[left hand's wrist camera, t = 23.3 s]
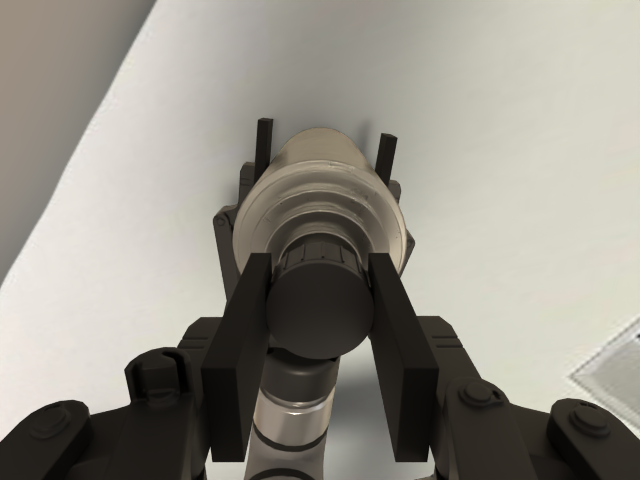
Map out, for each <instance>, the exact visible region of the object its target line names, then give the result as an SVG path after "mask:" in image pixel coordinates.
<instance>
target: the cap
mask: <svg viewBox="0 0 640 480" xmlns="http://www.w3.org/2000/svg"><path fill="white" fill-rule="evenodd" d="M371 289H372V286H371V282H370V279H369V275H368V271H367V270H365V269H364V267H363V265H362V264H361V262H360V261H359V259H358V257H357V256H354V255H353V254H352V253H350V252H349V251H347V250H346V249H344V248H343V246H340V247H339V246H337V245H333V244H328V243H324V242H322V243H312V244H307V245H305V244H303V245H302V246H301V247H298V248H296V249H294V250H292V251H291V252H289V253H288V252H287V253H286V256H284V257H283V258H282V260H281V261H280V262H279V263H278V265H277V266H276V265H275V267H274V270H273V274H272V278H271V282H270V287H269V291H268V295H267V298H266V322H267V326H268V328H269V330H270V332H271V334H272V335H273V337H274V338H275V340H276V341H277V342H278V343H279V344H280V345H282V346H283V347H284V348H285V349H287V350H288V351H290V352H292V353H294V354H296V355H299V356H302V357H306V358H311V359H329V358H334V357H338V356H341V355H344V354H346V353H348V352H350V351H351V350H353V349H354V348H356V347H357V346H358V345H359V344H360V343H361V342H362V341H363V340H364V339H365V338H366V337H367V335H368V334H369V332H370V330H371V328H372V325H373V318H374V299H373V295H372V292H371Z"/></svg>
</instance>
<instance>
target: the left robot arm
mask: <svg viewBox="0 0 640 480" xmlns="http://www.w3.org/2000/svg"><path fill="white" fill-rule="evenodd" d="M368 275H369V279H370V282H371V286H372V289H371V292H372V295H373V299H374V318H373V325H372V328H371V330H370V332H369V336H370V341H371V345H372V350H373V355H374V360H375V365H376V370H377V374H378V379H379V384H380V389H381V394H382V399H383V404H384V408H385V413H386V418H387V423H388V428H389V433H390V437H391V442H392V447H393V452H394V457H395V462H427V460H428V453H429V445H430V448H431V451H432V454H433V458H434V461H435V469H434V476H433V480H640V440H639V439H638V438H637V437H636V436H635V435H634V434H633V433H632V432H631V431H630V430H629V429H628V428H627V427H626V426H625V425H624V424H623V423H622V422H621V421H620V420H619V419H618V418H616V417H615V416H614V415H613V414H611V413H610V412H609V411H607V410H605V409H603V408H601V407H600V406H598V405H596V404H593V403H590V402H587V401H584V400H581V399H571V398H566V399H561V400H557V401H556V402H555V403H554V404H553V405H552V408H551V411H550V413H545V412H541V411H537V410H532V409H528V408H524V407H520V406H517V405H514V404H512V403H510V402H509V400H508V398H507V397H506V395H505V394H504V392H503V391H501V390H500V389H499V388H498V387H497V386H495V385H494V384H492V383H490V382H488V381H486V380H483V379H482V378H481V377H480V375H479V373H478V371H477V370H476V368H475V366H474V364H473V363H472V361H471V359H470V357H469V356H468V354H467V352H466V350H465V349H464V348H463V345H462V343H461V342H460V340H459V339H458V338H457V337H458V336H457V335H456V333H455V331H454V329H453V328H452V326H451V325H450V324H449V323H447V322H446V321H445V320H444V319H442V318H441V317H440V316H416V314H415V311H414V309H413V307H412V305H411V302H410V300H409V298H408V295H407V293H406V291H405V289H404V286H403V284H402V282H401V280H400V277H399V275H398V273H397V270H396V268H395V266H394V264H393V261H392V259H391V257H390V255H389V253H368ZM271 278H272V257H271V253H251V254H250V256H249V258H248V261H247V263H246V265H245V268H244V270H243V272H242V274H241V277H240V279H239V281H238V284H237V286H236V288H235V290H234V293H233V295H232V297H231V299H230V302H229V304H228V306H227V309H226V311H225V313H224V315H223V317H200V318H199V319H198V320H197V321H195V322H194V323H193V324H191V325H190V326H189V327H188V329H187V330H186V332H185V334H184V336H183V338H182V340H181V341H180V343H179V345H178V346H177V348H176V347H162V348H158V349H153V350H150V351H147V352H145V353H143V354H140V355H139V356H137V357H136V358H135V359H133V360H132V361H130V363H129V364H128V365H127V367H126V368H125V369H124V371H125V376H126V380H127V385H128V390H129V395H130V399H131V403H130V405H127V406H125V407H121V408H118V409H114V410H110V411H106V412H101V413H97V414H93V415H90V413H89V409H88V407H87V406H86V405H85V404H84V403H83V402H80V401H76V400H66V401H58V402H55V403H52V404H49V405H46V406H44V407H42V408H40V409H38V410H36V411H34V412H33V413H31V414H30V415H28V416H27V417H26V418H25V419H23V420H22V421H21V422H20V423H19V424H18V425H17V426H16V427H15V428H14V429H13V430H12V431H11V432H10V433H9V434H8V435H7V436H6V437H5V438H4V439H3V440H2V441H1V442H0V480H207V476H206V469H205V462H206V459H207V455H208V452H209V449H210V447H211V455H212V462H244V460H245V456H246V451H247V446H248V441H249V436H250V431H251V427H252V422H253V417H254V412H255V407H256V402H257V397H258V393H259V388H260V383H261V378H262V373H263V368H264V364H265V359H266V354H267V349H268V344H269V339H270V335H271V332H270V330H269V328H268V326H267V322H266V298H267V295H268V291H269V287H270V282H271Z"/></svg>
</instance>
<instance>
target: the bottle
mask: <svg viewBox="0 0 640 480" xmlns="http://www.w3.org/2000/svg"><path fill="white" fill-rule="evenodd" d="M322 242H324V243H328V244H333V245H337V246H339V247H340V246H343V248H344V249H346V250H347V251H349V252H350V253H352V254H353V255H354V256H357V257H358V259H359V261H360V262H361V264H362V265H363V267H364V269H365V270H367V271H368V253H389V255H390V257H391V259H392V261H393V264H394V266H395V268H396V270H397V273H398V275H399V273H400V271H401V269H402V266H403V263H404V260H405V255H406V249H407V233H406V225H405V221H404V218H403V215H402V212H401V210H400V207H399V205H398V204H397V202H396V200H395V198H394V197H393V195H392V194H391V193H390V191H389V190H388V188H387V187H386V186H385V184H384V183H383V182H382V180H381V179H380V178H379V176H378V175H377V173H376V172H375V171H374V169H373V168H372V167H371V165H370V164H369V163H368V161H367V160H366V158H365V157H364V156H363V154H362V153H361V152H360V150H359V149H358V148H357V146H356V145H355V144H354V142H353V141H352V140H350V139H349V138H348V137H347V136H345V135H344V134H342V133H340V132H339V131H336V130H333V129H329V128H311V129H307V130H304V131H302V132H300V133H298V134H296V135H295V136H293V137H292V138H291V139H290V140H288V141H287V143H286V144H285V145H284V146H283V148H282V149H281V150H280V152H279V153H278V154H277V156H276V157H275V158H274V160H273V161H272V162H271V164H270V165H269V167H268V168H267V169H266V171H265V172H264V173H263V175H262V176H261V177H260V179H259V180H258V181H257V183H256V184H255V186H254V187H253V188H252V190H251V191H250V192H249V194H248V195H247V197H246V198H245V200H244V201H243V203H242V205H241V207H240V209H239V212H238V214H237V217H236V221H235V225H234V231H233V249H234V256H235V260H236V263H237V267H238V269H239V271H240V274H242V272H243V270H244V268H245V265H246V263H247V261H248V258H249V256H250V254H251V253H271V257H272V274H273V270H274V267H275V265H276V266H277V265H278V263H279V262H280V261H281V260H282V258H283V257H284V256H286V253H287V252H288V253H289V252H291V251H292V250H294V249H296V248H298V247H301V246H302V245H303V244H305V245H307V244H312V243H322Z"/></svg>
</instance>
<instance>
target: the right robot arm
mask: <svg viewBox="0 0 640 480" xmlns="http://www.w3.org/2000/svg"><path fill="white" fill-rule="evenodd" d="M272 127H273V119H269V118H261V119H259V120H258V126H257V141H256V157H255V163H252V162H246V163H245V164H244V165H243V166H242V169H241V171H240V185H239V202H238V204H237V205H233V206H224V207H223V208H222V209H221V210H220V211H219V212H218V213H217V214H216V215H215V216H214V218H213V225H214V231H215V237H216V242H217V248H218V254H219V260H220V265H221V271H222V277H223V282H224V288H225V294H226V299H227V302H226V306H225V311H226V309H227V306H228V304H229V302H230V299H231V297H232V295H233V293H234V290H235V288H236V286H237V284H238V281H239V279H240V277H241V274H240V271H239V269H238V267H237V263H236V260H235V256H234V249H233V231H234V225H235V221H236V217H237V214H238V212H239V209H240V207H241V205H242V203H243V201H244V200H245V198H246V197H247V195H248V194H249V192H250V191H251V190H252V188H253V187H254V186H255V184H256V183H257V181H258V180H259V179H260V177H261V176H262V175H263V173H264V172H265V171H266V169H267V168H268V167H269V165H270V152H271V139H272ZM396 143H397V137H395V136H393V135H391V134H384V133H381V138H380V144H379V150H378V156H377V161H376V167H375V172H376V173H377V175H378V176H379V178H380V179H381V180H382V182H383V183H384V184H385V186H386V187H387V188H388V190H389V191H390V193H391V194H392V195H393V197H394V198H395V200H396V202H397V204H398V203H399V198H400V194H401V188H400V184H399V183H398V182H397V181H395V180H390V175H391V170H392V165H393V159H394V154H395V149H396ZM406 233H407V249H406V255H405V260H404V263H403V266H402V269H401V271H400V273H399V277H401V275H402V273H403V271H404V268H405V266H406V264H407V262H408V259H409V257H410V255H411V253H412V250H413V248H414V246H415V240H414V239H413V237H412V236H411V234H410V233H409V231H408V230H407V229H406ZM225 311H224V313H225ZM368 338H369V339H370V336H369V334H368ZM340 357H341V356H338V357H334V358H329V359H311V358H306V357H302V356H299V355H296V354H294V353H292V352H290V351H288V350H287V349H285V348H284V347H283V346H282V345H280V344H279V343H278V342H277V341H276V340H275V338H274V337H273V335H272V334H271V335H270V339H269V344H268V349H267V354H266V359H265V364H264V368H263V373H262V378H261V383H260V388H259V393H258V397H257V402H256V407H255V412H254V417H253V423H252V432H251V440H250V449H249V456H248V461H247V467H246V472H245V477H244V480H323V460H324V450H325V443H326V435H327V429H328V425H329V421H330V416H331V410H332V404H333V398H334V392H335V384H336V380H337V375H338V369H339V363H340ZM433 476H434V474H432V475H431V476H429V477H425V478H420V479H416V480H433Z"/></svg>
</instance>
